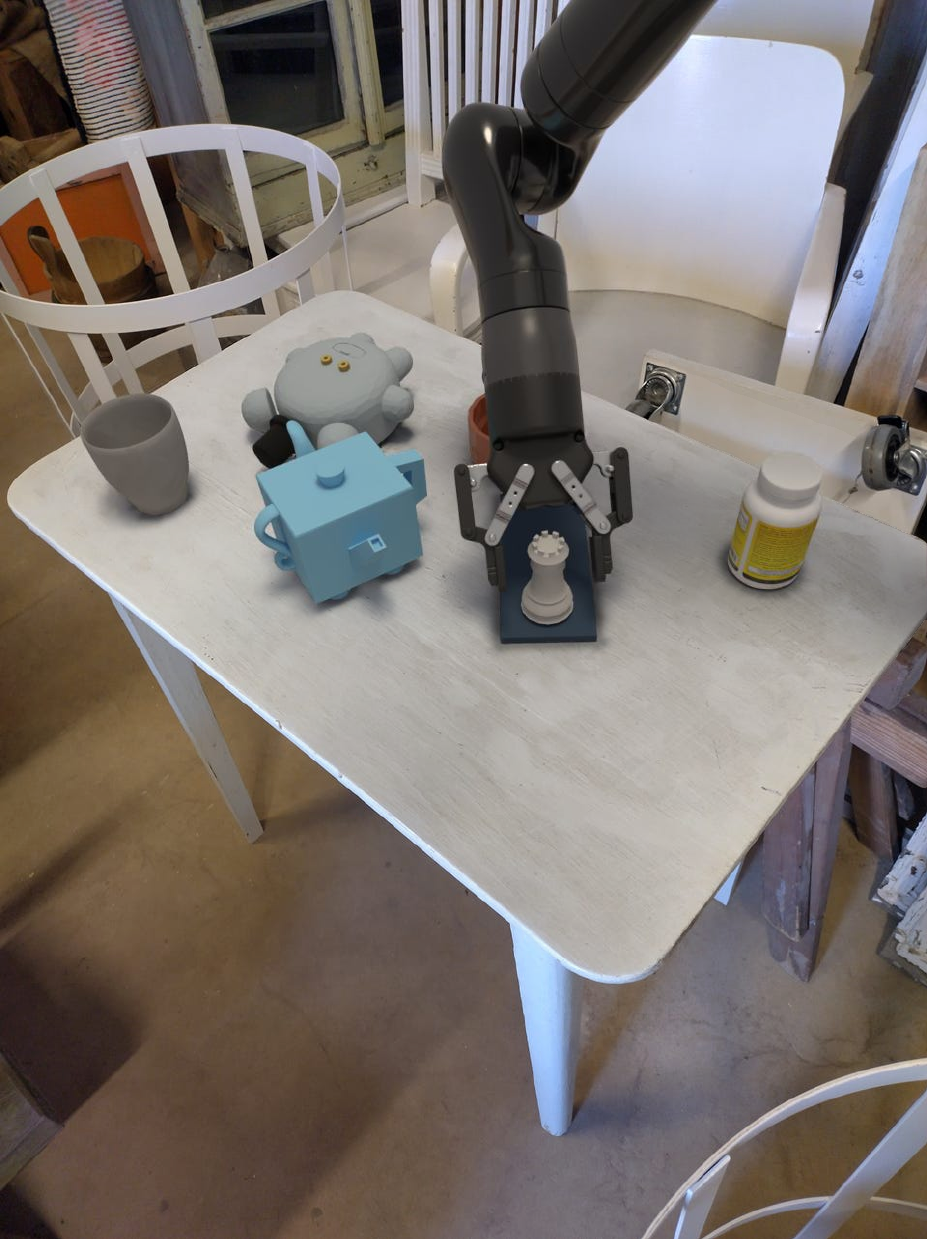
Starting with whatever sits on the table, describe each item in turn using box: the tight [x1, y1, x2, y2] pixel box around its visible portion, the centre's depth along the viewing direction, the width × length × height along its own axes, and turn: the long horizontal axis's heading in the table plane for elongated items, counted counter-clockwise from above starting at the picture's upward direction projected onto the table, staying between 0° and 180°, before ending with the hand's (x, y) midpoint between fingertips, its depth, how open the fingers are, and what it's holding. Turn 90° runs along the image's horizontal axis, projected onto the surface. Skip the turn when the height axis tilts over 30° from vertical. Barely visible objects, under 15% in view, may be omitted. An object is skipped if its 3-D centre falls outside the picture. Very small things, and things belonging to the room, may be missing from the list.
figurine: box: [240, 332, 415, 470], centre depth 86 cm, size 17×8×20 cm
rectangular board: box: [499, 493, 598, 644], centre depth 74 cm, size 18×8×1 cm, turn 179°
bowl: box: [467, 392, 490, 465], centre depth 83 cm, size 10×10×5 cm
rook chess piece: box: [521, 531, 573, 625], centre depth 67 cm, size 4×4×8 cm
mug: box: [79, 393, 190, 516], centre depth 81 cm, size 12×9×10 cm
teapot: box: [253, 421, 428, 605], centre depth 72 cm, size 16×18×11 cm
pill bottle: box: [727, 451, 824, 590], centre depth 68 cm, size 6×6×11 cm
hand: (551, 586), depth 66 cm, fingers open, 7 cm apart
